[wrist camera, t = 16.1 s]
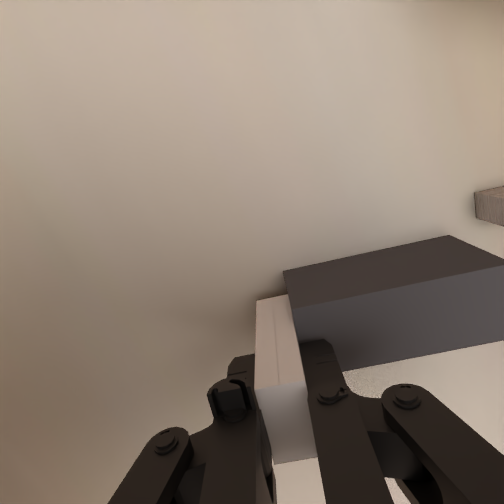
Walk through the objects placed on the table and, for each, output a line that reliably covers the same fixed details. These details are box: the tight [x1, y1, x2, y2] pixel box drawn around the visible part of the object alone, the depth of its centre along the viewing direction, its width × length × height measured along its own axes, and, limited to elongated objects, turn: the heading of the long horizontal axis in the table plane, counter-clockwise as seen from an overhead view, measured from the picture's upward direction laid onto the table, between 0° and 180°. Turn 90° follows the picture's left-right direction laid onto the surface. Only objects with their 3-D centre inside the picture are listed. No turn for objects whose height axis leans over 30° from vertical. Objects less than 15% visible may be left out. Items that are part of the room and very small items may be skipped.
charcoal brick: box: [283, 235, 504, 372], centre depth 16 cm, size 8×3×4 cm, turn 103°
